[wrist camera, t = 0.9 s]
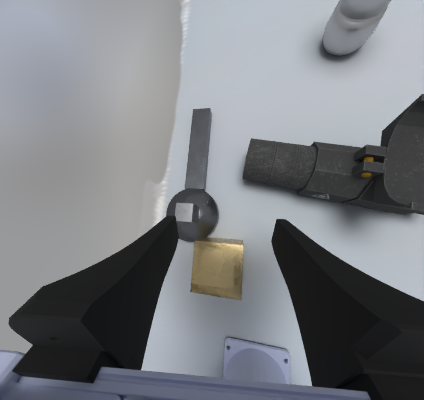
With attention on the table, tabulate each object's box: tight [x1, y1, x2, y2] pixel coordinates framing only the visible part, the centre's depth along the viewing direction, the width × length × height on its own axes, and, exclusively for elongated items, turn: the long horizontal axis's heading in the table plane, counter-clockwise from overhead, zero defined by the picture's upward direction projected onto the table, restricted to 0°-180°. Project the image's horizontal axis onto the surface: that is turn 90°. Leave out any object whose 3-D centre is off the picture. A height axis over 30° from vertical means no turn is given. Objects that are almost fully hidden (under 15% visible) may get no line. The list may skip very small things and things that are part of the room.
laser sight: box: [243, 94, 424, 215], centre depth 17 cm, size 10×22×10 cm, turn 75°
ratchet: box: [166, 108, 219, 241], centre depth 23 cm, size 22×8×5 cm, turn 176°
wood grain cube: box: [190, 237, 243, 300], centre depth 20 cm, size 6×6×6 cm
